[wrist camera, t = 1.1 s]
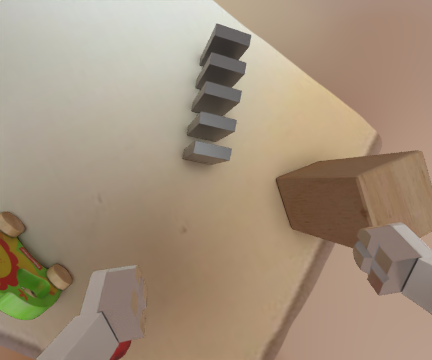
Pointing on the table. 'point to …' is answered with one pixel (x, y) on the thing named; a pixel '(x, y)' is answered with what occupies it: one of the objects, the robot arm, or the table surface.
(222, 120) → the domino
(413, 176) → the wooden block
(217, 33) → the domino
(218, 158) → the domino
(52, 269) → the toy lion
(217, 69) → the domino
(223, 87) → the domino
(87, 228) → the table surface
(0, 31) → the table surface
